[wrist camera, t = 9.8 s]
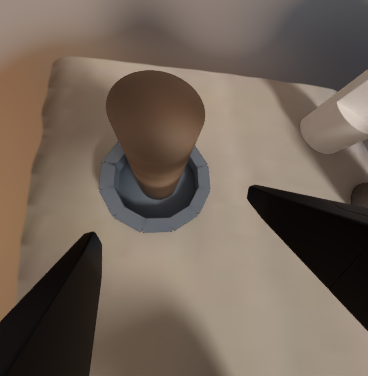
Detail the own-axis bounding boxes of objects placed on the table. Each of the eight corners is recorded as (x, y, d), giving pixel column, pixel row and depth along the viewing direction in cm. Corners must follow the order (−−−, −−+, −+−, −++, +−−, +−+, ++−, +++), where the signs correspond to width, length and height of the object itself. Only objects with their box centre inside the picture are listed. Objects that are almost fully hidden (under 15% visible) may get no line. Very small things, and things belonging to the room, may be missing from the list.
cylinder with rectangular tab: (342, 130, 30) (457, 70, 18) (335, 163, 27) (465, 115, 15) (306, 107, 30) (398, 33, 18) (294, 137, 27) (395, 70, 15)
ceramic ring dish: (176, 250, 18) (180, 254, 15) (86, 200, 18) (73, 195, 15) (216, 169, 22) (224, 161, 19) (143, 127, 22) (140, 114, 19)
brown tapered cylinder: (175, 201, 19) (203, 157, 7) (136, 197, 18) (95, 141, 6) (178, 167, 20) (205, 81, 8) (142, 162, 20) (116, 61, 8)
